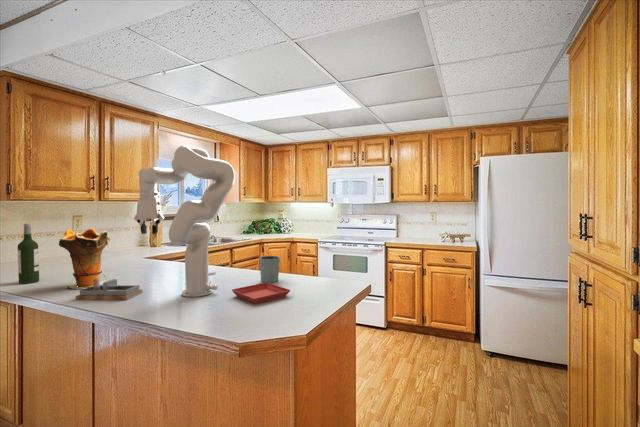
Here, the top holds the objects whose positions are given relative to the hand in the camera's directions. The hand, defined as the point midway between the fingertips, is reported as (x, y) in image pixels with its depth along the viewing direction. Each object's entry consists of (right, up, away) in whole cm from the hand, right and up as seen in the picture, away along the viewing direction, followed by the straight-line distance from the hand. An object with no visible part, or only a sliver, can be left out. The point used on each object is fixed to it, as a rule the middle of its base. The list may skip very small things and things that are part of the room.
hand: (149, 233), depth 159 cm
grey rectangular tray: (-9, -24, -16) cm, 30 cm away
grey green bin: (+56, -25, +10) cm, 62 cm away
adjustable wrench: (+17, -25, +19) cm, 36 cm away
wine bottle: (-67, -26, +12) cm, 73 cm away
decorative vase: (-33, -26, +5) cm, 42 cm away
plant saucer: (+56, -26, -18) cm, 65 cm away
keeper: (-9, -26, -16) cm, 32 cm away
